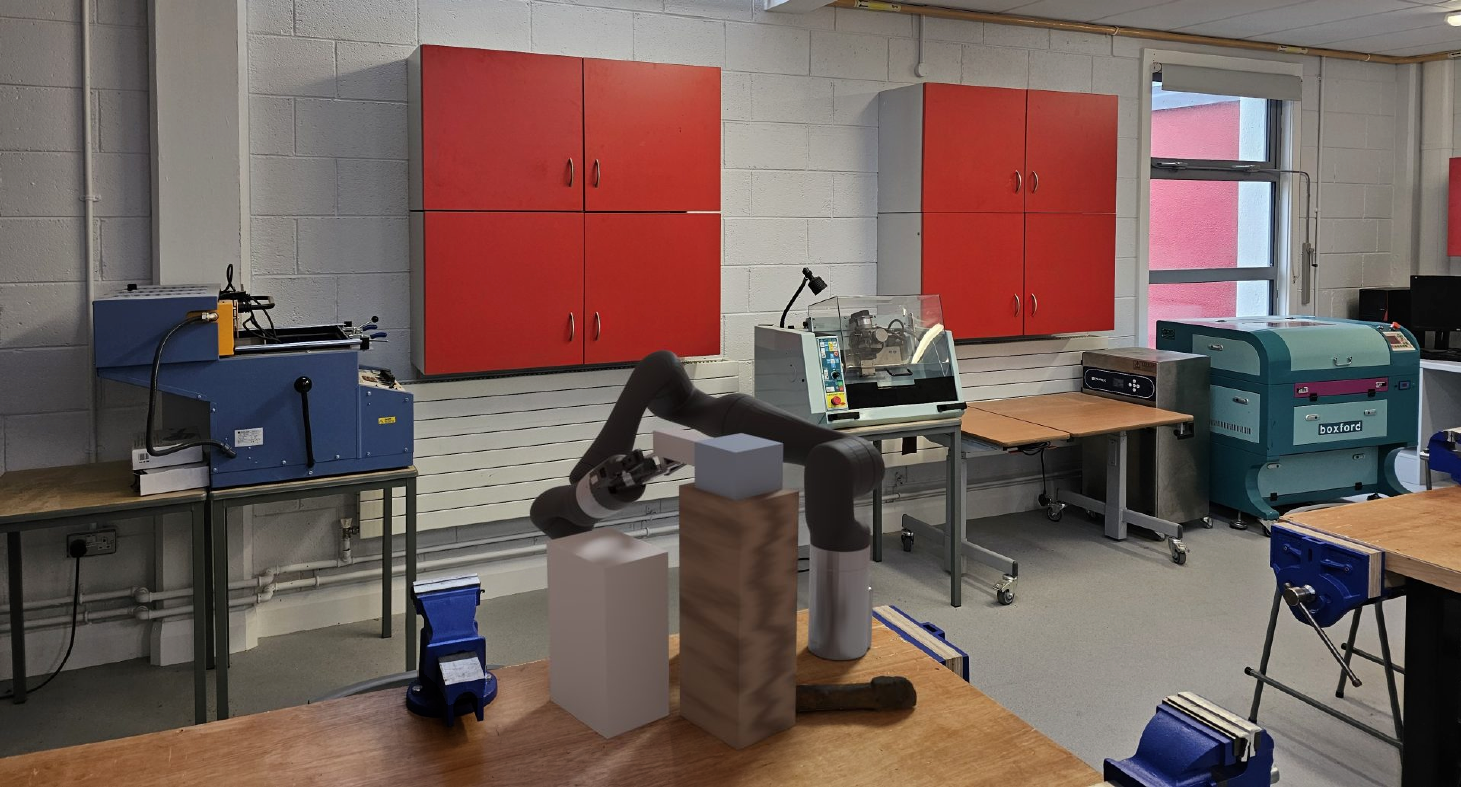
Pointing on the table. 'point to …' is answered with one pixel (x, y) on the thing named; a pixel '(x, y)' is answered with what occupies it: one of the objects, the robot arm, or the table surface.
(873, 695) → the hand tool
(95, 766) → the table surface
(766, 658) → the walnut stand
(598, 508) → the robot arm
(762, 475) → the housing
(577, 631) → the grey pedestal
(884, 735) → the table surface
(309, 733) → the table surface
